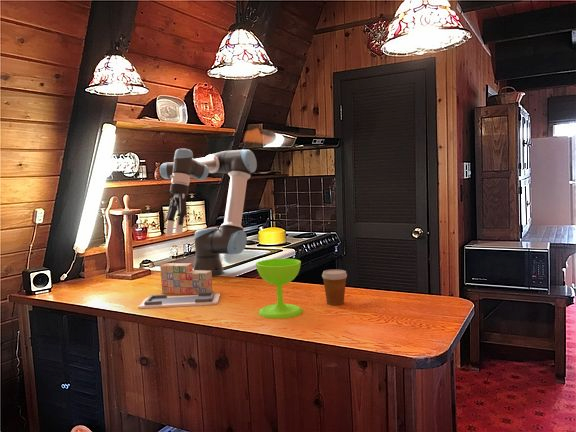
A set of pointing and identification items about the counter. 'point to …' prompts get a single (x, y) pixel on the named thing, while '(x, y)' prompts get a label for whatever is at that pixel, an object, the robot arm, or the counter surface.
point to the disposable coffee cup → (334, 286)
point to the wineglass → (279, 285)
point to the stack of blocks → (184, 279)
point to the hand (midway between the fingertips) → (173, 234)
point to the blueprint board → (180, 300)
